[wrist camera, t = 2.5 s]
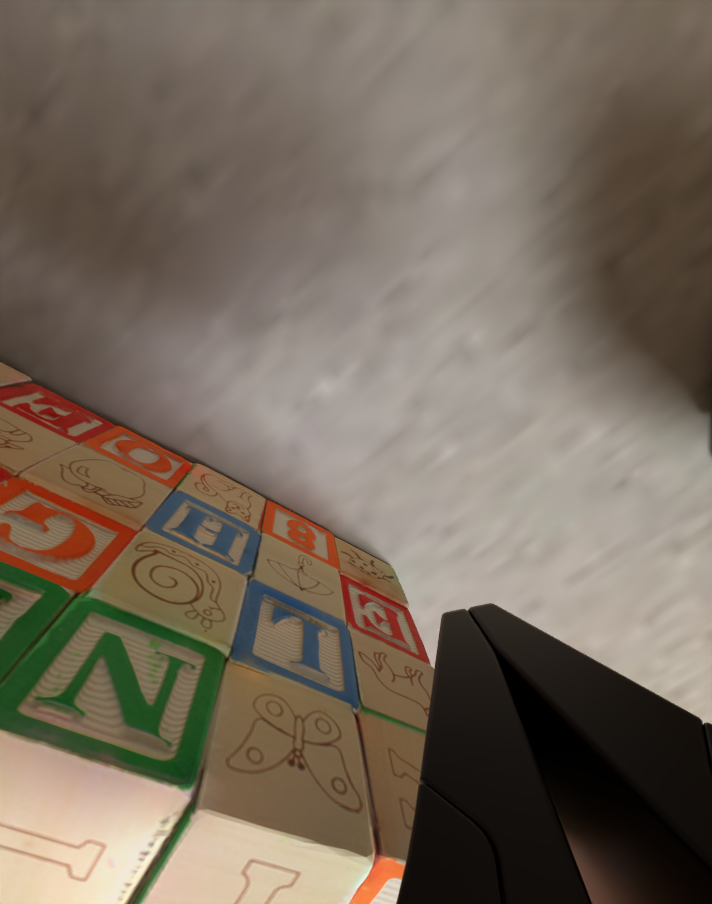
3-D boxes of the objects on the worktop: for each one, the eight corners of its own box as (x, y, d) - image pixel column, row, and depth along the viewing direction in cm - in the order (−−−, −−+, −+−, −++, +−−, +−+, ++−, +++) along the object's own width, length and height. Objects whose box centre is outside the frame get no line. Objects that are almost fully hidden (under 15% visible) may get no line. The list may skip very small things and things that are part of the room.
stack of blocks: (-216, 442, 16) (-1729, 758, 4) (-152, 278, 15) (-1906, 65, 3) (323, 679, 21) (347, 1154, 9) (399, 565, 20) (545, 925, 8)
